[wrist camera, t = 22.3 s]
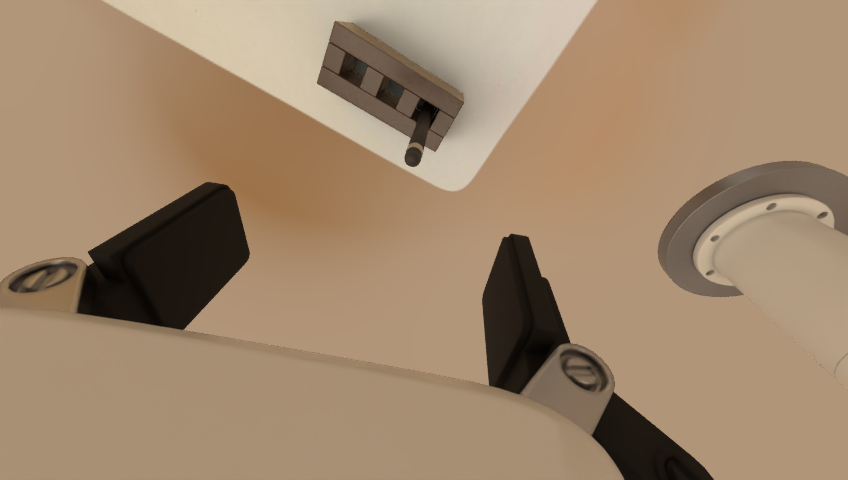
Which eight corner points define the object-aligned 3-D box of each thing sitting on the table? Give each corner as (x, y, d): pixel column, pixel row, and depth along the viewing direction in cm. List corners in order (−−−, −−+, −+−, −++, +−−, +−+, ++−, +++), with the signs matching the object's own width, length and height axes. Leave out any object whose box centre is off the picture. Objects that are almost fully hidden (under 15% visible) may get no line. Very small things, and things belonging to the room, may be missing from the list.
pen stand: (351, 22, 28) (334, 20, 24) (463, 94, 30) (464, 102, 27) (333, 77, 31) (316, 83, 27) (438, 139, 33) (435, 152, 30)
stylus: (436, 98, 31) (420, 155, 21) (434, 110, 32) (419, 171, 22) (424, 96, 31) (403, 152, 21) (423, 108, 32) (402, 168, 22)
